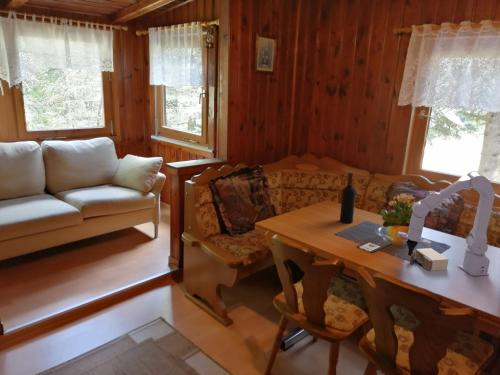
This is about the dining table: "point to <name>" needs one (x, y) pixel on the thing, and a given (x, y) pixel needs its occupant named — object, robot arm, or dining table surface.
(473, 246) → the robot arm
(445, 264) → the cabinet
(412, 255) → the door
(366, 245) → the chocolate bar
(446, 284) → the dining table surface
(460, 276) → the dining table surface
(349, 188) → the wine bottle
